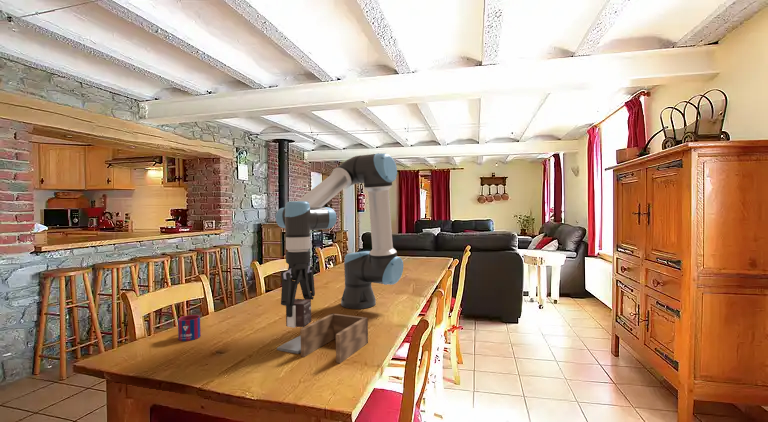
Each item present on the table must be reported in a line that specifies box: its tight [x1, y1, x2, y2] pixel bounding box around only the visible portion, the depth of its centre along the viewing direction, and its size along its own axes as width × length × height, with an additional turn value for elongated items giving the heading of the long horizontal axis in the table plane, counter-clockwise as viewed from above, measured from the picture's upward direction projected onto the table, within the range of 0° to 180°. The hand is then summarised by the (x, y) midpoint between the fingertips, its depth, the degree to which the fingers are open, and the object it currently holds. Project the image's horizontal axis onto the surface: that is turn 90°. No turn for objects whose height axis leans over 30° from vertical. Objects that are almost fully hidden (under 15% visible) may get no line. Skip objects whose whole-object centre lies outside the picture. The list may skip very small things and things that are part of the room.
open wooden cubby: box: [300, 313, 369, 364], centre depth 117 cm, size 17×13×8 cm
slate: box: [276, 334, 301, 355], centre depth 121 cm, size 12×8×1 cm, turn 155°
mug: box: [177, 314, 202, 342], centre depth 131 cm, size 7×10×7 cm
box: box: [285, 298, 312, 328], centre depth 121 cm, size 6×6×7 cm
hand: (299, 323), depth 121 cm, fingers closed on box, 7 cm apart
